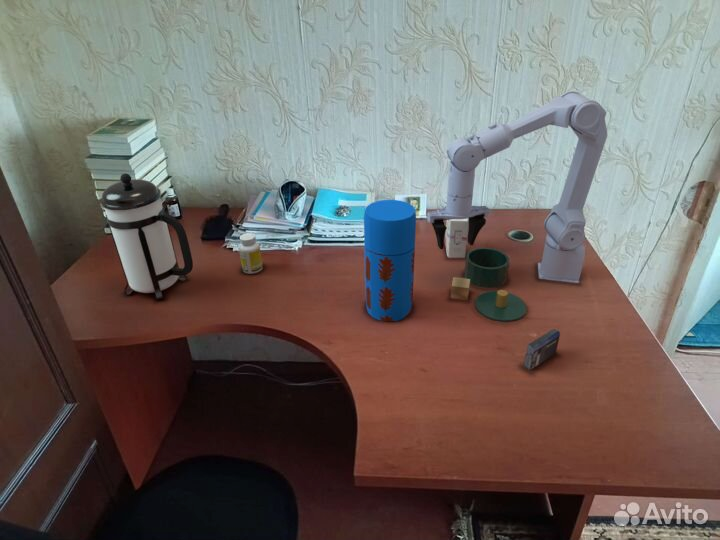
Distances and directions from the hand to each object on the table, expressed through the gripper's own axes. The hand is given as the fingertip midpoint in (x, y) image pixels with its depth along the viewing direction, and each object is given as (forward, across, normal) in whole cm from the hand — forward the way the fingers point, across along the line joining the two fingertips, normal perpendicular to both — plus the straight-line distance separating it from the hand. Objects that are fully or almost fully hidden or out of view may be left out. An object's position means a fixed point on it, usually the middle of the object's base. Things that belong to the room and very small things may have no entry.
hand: (455, 245), depth 120 cm
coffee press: (+10, +72, -15) cm, 74 cm away
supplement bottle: (+10, +49, -18) cm, 53 cm away
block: (+10, +1, +7) cm, 12 cm away
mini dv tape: (+10, -6, +32) cm, 35 cm away
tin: (+10, -8, +1) cm, 13 cm away
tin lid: (+9, -6, +14) cm, 18 cm away
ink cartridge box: (+10, -6, -14) cm, 18 cm away
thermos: (+10, +19, +8) cm, 23 cm away
